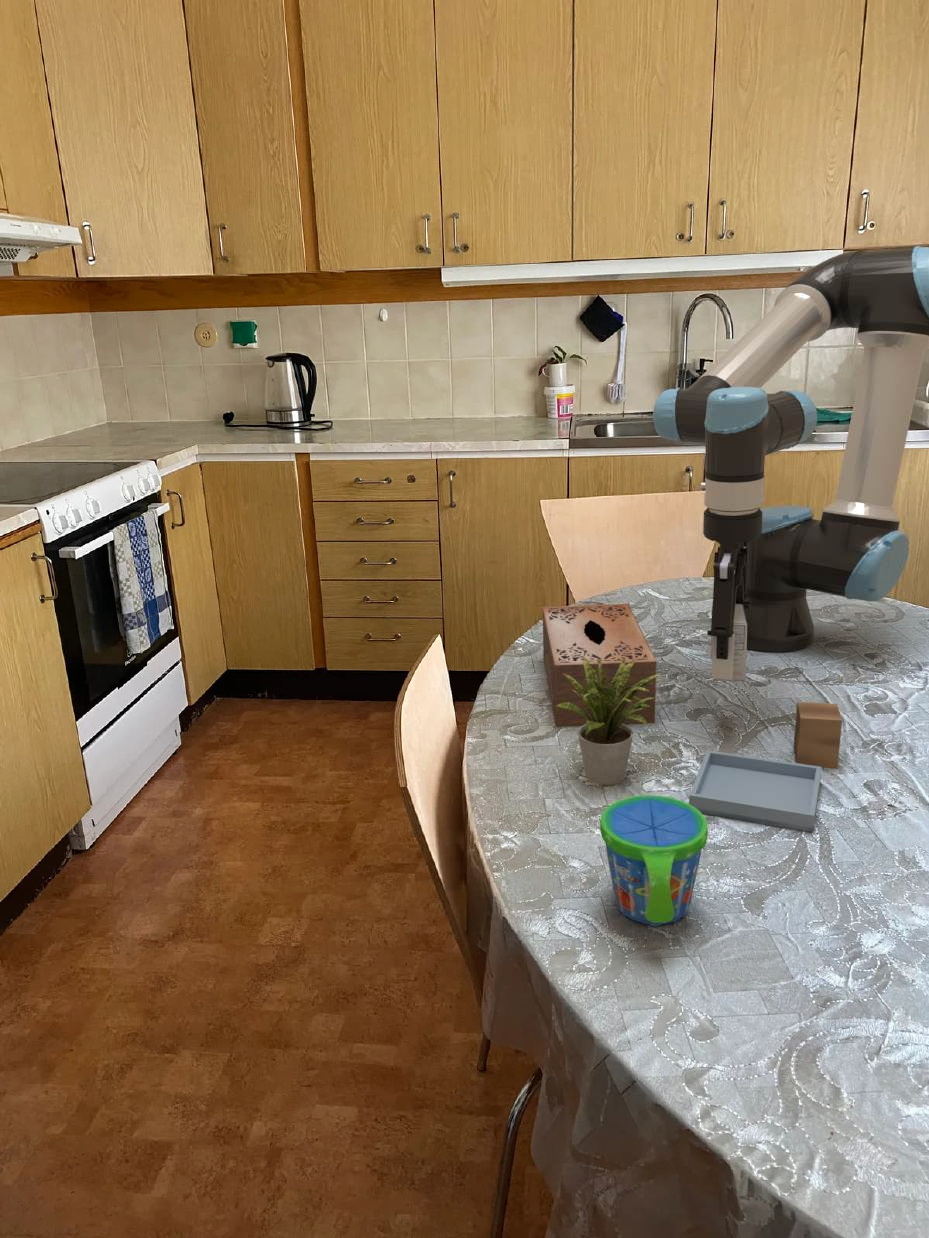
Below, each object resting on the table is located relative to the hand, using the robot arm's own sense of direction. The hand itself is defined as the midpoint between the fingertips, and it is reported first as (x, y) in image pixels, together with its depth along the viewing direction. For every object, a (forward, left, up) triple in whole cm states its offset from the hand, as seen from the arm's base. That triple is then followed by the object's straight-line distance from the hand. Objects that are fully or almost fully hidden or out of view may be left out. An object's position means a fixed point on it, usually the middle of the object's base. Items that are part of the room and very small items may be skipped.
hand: (727, 664), depth 132 cm
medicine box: (0, 0, -1) cm, 1 cm away
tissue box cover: (-6, -21, -10) cm, 24 cm away
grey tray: (+19, +7, -9) cm, 22 cm away
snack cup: (+45, 0, -10) cm, 46 cm away
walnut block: (+7, +13, -9) cm, 17 cm away
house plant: (+21, -12, -9) cm, 26 cm away
